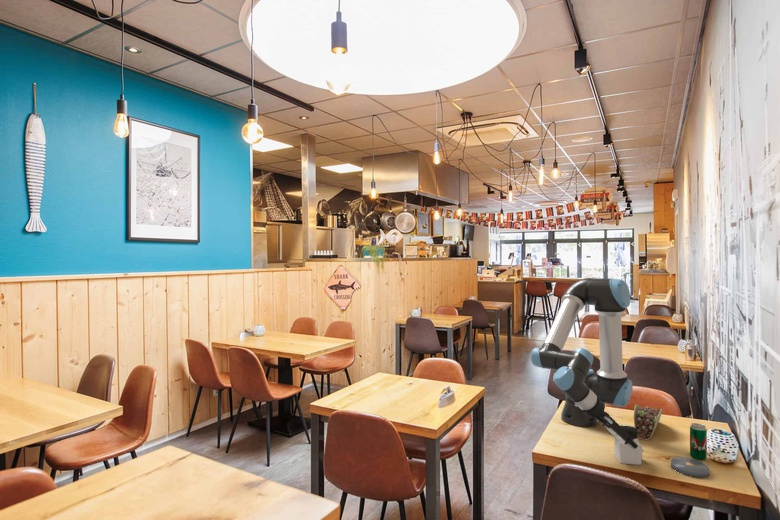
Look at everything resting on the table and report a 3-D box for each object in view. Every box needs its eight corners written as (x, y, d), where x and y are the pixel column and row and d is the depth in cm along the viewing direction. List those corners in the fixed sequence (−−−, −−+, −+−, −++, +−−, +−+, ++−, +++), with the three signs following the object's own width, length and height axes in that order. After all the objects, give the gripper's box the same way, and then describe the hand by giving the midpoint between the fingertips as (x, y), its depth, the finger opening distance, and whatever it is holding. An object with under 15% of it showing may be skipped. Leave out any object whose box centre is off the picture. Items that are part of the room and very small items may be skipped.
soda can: (703, 456, 161) (704, 423, 161) (708, 462, 157) (709, 428, 157) (687, 454, 163) (688, 421, 163) (692, 459, 158) (692, 426, 158)
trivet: (667, 460, 157) (667, 455, 157) (702, 465, 154) (702, 459, 154) (676, 474, 147) (676, 468, 147) (714, 480, 143) (714, 473, 143)
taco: (629, 437, 179) (629, 412, 179) (640, 419, 200) (640, 396, 200) (656, 443, 173) (657, 418, 173) (665, 424, 194) (665, 401, 194)
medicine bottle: (642, 465, 154) (642, 431, 154) (620, 463, 155) (620, 429, 155) (635, 456, 161) (635, 424, 161) (614, 454, 162) (614, 422, 162)
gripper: (567, 399, 170) (605, 438, 171) (599, 423, 145) (643, 468, 146) (580, 386, 171) (618, 424, 171) (614, 407, 146) (659, 452, 146)
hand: (630, 444), depth 158 cm, fingers open, 13 cm apart
